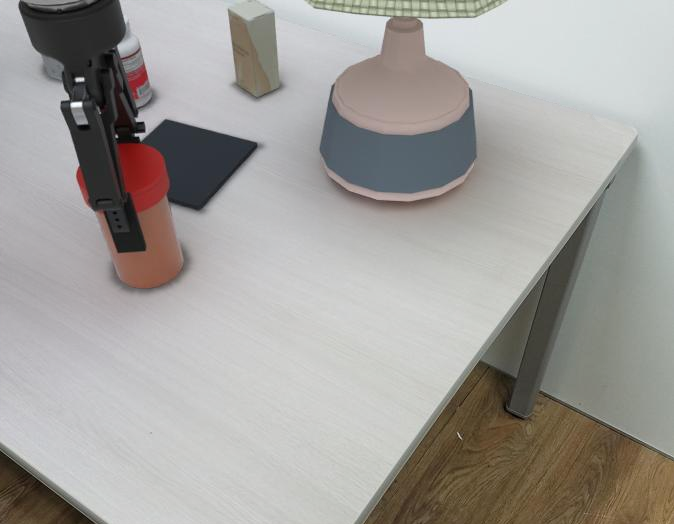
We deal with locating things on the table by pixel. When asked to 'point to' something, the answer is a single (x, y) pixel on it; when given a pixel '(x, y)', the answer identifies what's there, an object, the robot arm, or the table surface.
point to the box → (254, 46)
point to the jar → (149, 249)
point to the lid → (138, 175)
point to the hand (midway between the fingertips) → (136, 219)
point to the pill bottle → (134, 66)
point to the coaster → (197, 160)
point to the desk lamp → (401, 108)
